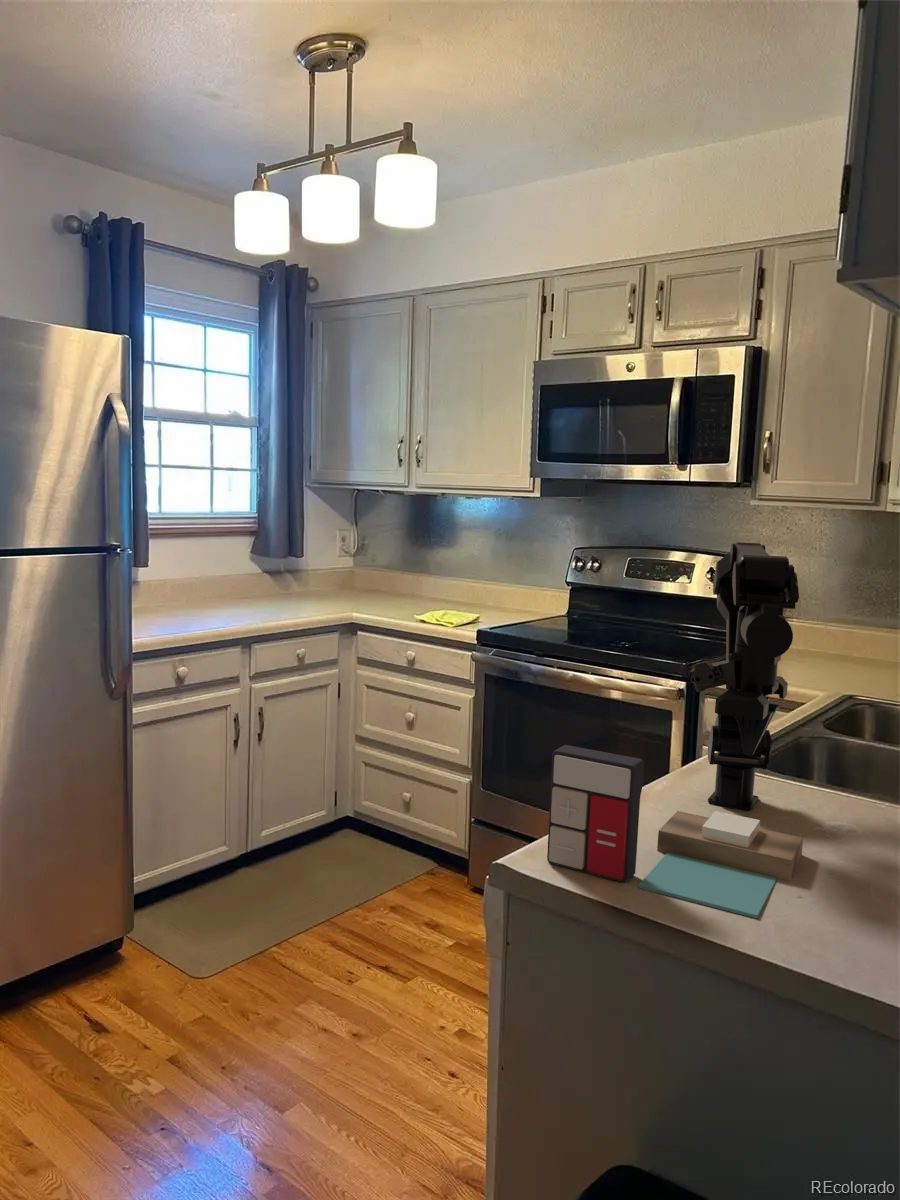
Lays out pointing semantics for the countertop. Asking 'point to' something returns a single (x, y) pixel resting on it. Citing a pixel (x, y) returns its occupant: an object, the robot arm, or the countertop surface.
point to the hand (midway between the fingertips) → (748, 754)
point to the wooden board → (731, 847)
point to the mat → (710, 884)
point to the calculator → (594, 812)
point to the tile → (731, 829)
